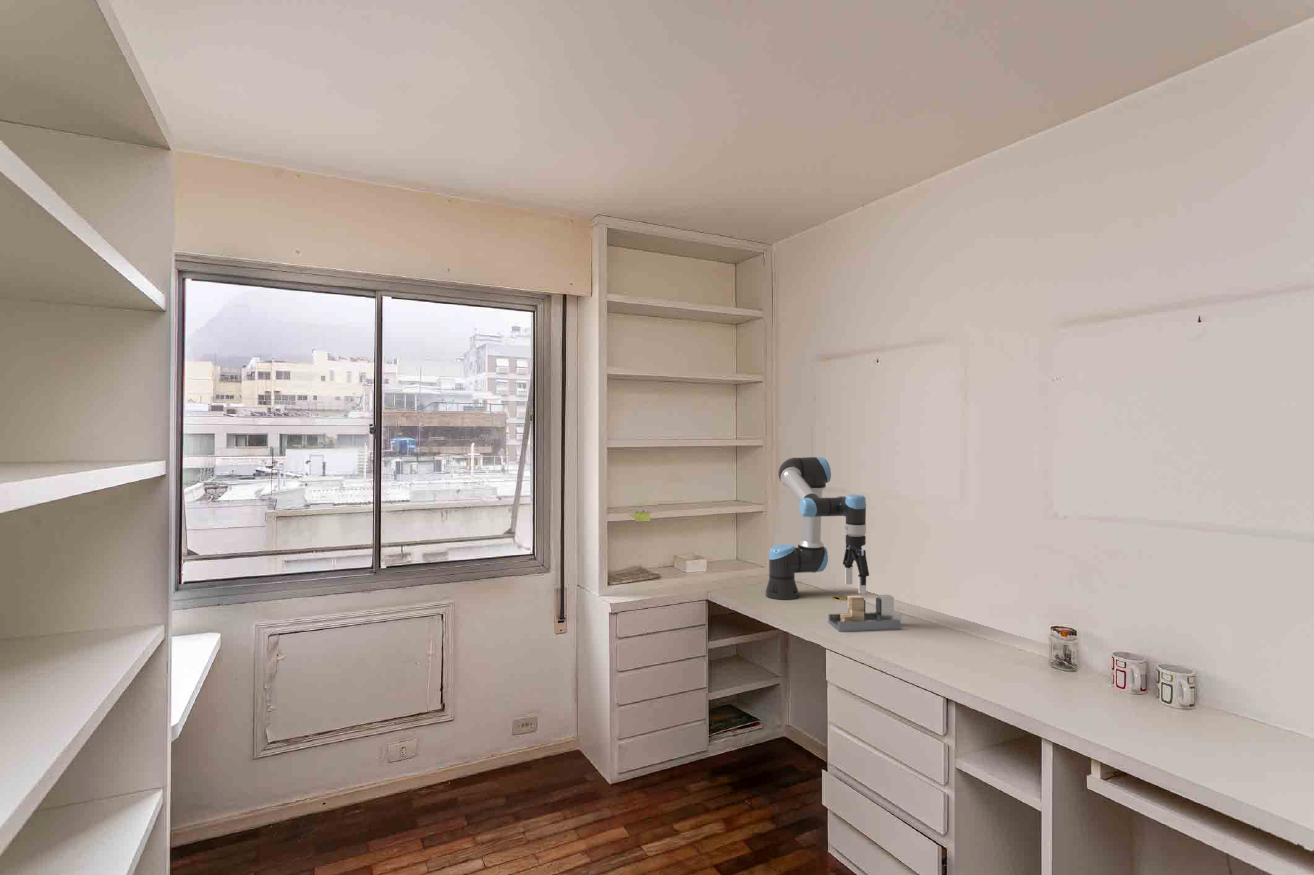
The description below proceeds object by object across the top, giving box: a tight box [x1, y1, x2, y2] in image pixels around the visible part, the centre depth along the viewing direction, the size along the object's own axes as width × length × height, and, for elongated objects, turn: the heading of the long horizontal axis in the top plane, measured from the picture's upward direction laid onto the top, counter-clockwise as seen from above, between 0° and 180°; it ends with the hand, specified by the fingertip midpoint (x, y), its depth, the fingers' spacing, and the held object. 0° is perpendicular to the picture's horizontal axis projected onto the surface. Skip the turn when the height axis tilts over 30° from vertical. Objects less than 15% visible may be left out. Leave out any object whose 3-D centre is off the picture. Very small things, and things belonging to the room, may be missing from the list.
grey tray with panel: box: [827, 594, 902, 633], centre depth 262 cm, size 12×26×12 cm, turn 95°
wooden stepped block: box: [839, 595, 866, 621], centre depth 262 cm, size 4×9×10 cm, turn 96°
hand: (855, 588), depth 262 cm, fingers open, 13 cm apart
